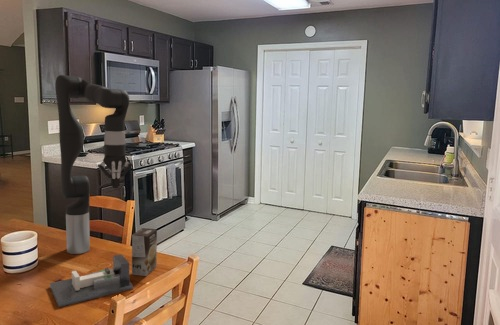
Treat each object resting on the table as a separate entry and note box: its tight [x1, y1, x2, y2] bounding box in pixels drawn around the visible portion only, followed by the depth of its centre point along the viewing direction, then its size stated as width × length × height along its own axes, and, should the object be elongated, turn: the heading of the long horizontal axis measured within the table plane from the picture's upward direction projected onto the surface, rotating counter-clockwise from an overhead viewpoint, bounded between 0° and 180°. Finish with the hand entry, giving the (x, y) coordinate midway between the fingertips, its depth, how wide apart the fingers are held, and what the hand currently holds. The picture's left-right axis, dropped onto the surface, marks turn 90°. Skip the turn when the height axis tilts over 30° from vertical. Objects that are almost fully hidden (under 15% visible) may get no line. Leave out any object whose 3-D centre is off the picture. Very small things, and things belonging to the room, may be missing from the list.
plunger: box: [71, 267, 114, 291], centre depth 136 cm, size 6×13×5 cm, turn 126°
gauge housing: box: [49, 253, 134, 308], centre depth 135 cm, size 16×24×8 cm, turn 126°
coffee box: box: [131, 227, 158, 277], centre depth 150 cm, size 9×6×16 cm
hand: (115, 187), depth 146 cm, fingers closed
